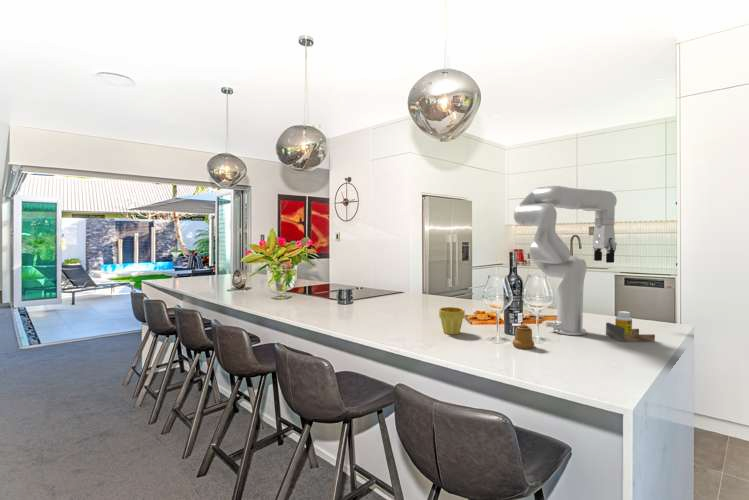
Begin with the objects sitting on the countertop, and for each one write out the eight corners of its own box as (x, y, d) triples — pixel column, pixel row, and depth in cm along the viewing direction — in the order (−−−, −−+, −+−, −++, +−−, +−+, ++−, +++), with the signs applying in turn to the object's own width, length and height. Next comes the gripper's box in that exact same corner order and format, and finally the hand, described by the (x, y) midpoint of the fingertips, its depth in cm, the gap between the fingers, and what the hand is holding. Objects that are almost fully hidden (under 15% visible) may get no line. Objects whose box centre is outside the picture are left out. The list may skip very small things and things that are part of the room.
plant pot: (453, 337, 164) (454, 312, 163) (433, 332, 171) (433, 309, 171) (469, 332, 170) (469, 309, 170) (449, 328, 178) (449, 306, 178)
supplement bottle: (629, 340, 158) (629, 314, 157) (613, 338, 162) (613, 312, 161) (633, 338, 161) (634, 312, 161) (617, 335, 165) (618, 310, 165)
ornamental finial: (538, 348, 147) (520, 350, 145) (525, 343, 155) (508, 344, 153) (539, 326, 147) (520, 328, 145) (526, 322, 154) (508, 323, 152)
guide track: (637, 334, 167) (637, 322, 166) (654, 341, 157) (655, 328, 156) (605, 334, 166) (606, 322, 166) (620, 341, 156) (621, 328, 156)
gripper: (586, 222, 189) (585, 260, 190) (606, 222, 172) (606, 263, 173) (602, 222, 189) (601, 259, 190) (624, 222, 172) (624, 263, 173)
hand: (603, 261), depth 181 cm, fingers open, 9 cm apart
